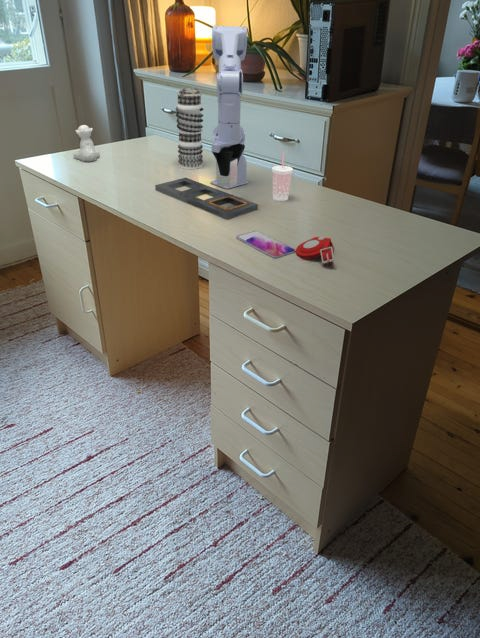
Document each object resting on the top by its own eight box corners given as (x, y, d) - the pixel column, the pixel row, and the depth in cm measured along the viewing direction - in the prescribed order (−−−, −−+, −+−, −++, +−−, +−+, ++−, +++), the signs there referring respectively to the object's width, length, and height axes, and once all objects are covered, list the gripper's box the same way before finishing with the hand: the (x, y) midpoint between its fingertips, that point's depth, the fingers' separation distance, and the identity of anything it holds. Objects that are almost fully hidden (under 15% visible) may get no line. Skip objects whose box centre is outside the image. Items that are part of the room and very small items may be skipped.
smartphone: (256, 230, 134) (297, 250, 124) (256, 233, 134) (296, 253, 124) (234, 236, 130) (275, 257, 120) (234, 239, 130) (274, 260, 120)
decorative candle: (189, 160, 187) (187, 85, 174) (209, 165, 183) (208, 88, 169) (172, 166, 181) (168, 88, 167) (192, 171, 176) (190, 92, 163)
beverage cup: (294, 198, 156) (298, 151, 149) (281, 203, 152) (285, 154, 145) (278, 193, 159) (282, 147, 152) (266, 198, 156) (268, 150, 148)
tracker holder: (286, 250, 122) (310, 229, 127) (291, 266, 125) (315, 245, 130) (328, 256, 114) (352, 233, 119) (332, 273, 116) (356, 250, 121)
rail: (185, 182, 166) (185, 176, 165) (257, 209, 147) (257, 203, 146) (155, 190, 159) (155, 184, 158) (227, 219, 140) (227, 213, 139)
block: (224, 181, 146) (224, 156, 142) (236, 183, 144) (237, 158, 141) (217, 185, 143) (217, 159, 139) (229, 187, 141) (230, 161, 138)
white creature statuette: (99, 155, 190) (95, 121, 184) (104, 161, 183) (100, 126, 177) (73, 157, 187) (68, 122, 180) (77, 163, 180) (72, 128, 174)
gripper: (229, 115, 142) (228, 164, 149) (201, 124, 131) (201, 177, 138) (252, 118, 139) (250, 168, 146) (225, 128, 128) (224, 182, 135)
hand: (228, 173), depth 142 cm, fingers closed on block, 4 cm apart
